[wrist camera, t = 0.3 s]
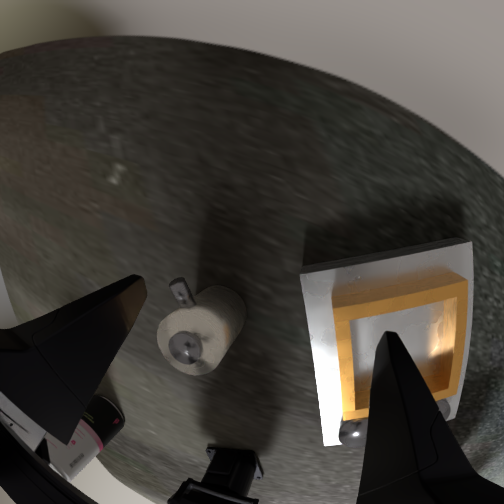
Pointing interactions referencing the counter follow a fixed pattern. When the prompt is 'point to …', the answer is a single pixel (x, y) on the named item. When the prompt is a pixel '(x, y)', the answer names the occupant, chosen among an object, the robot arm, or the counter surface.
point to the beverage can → (85, 438)
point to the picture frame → (388, 326)
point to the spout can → (200, 327)
